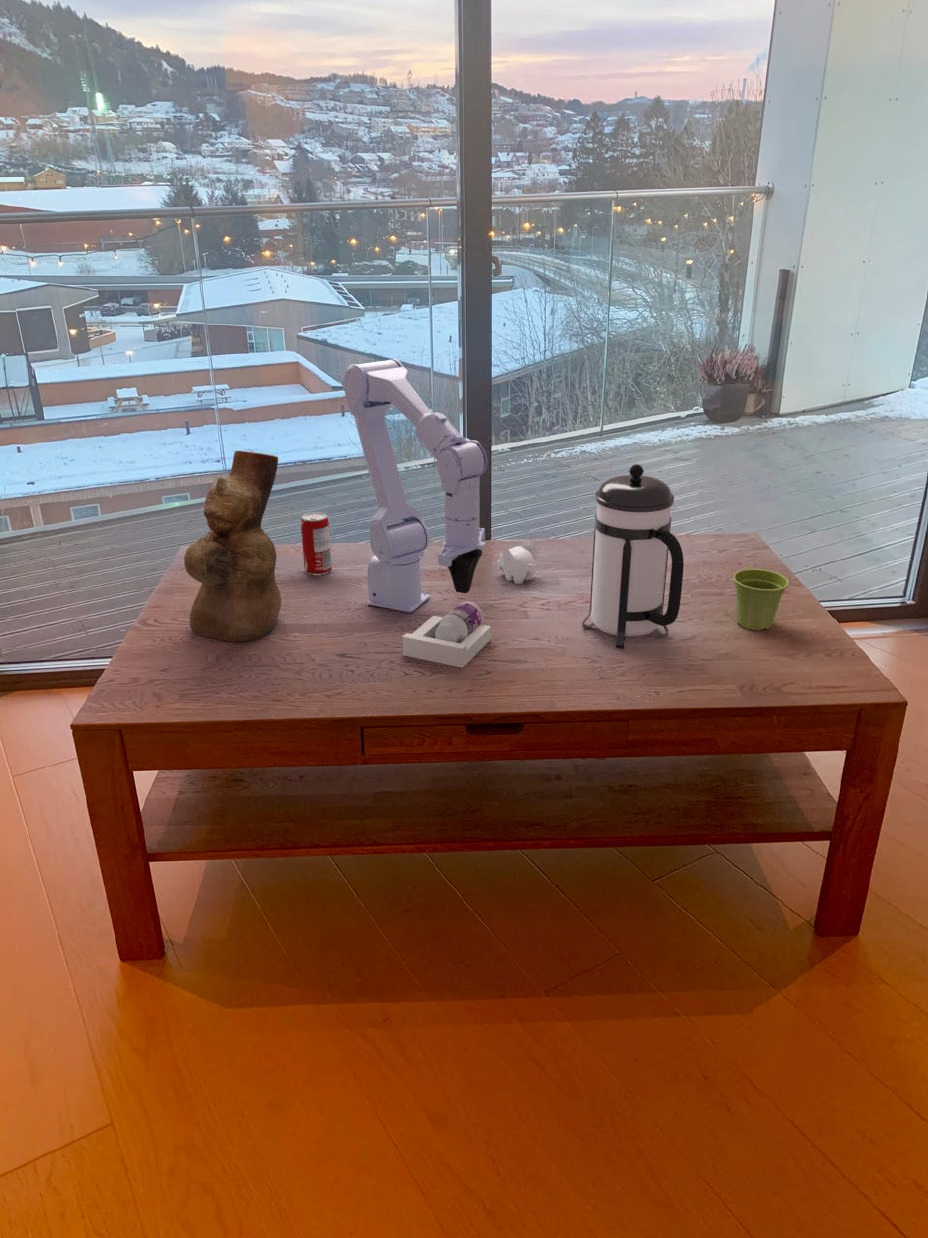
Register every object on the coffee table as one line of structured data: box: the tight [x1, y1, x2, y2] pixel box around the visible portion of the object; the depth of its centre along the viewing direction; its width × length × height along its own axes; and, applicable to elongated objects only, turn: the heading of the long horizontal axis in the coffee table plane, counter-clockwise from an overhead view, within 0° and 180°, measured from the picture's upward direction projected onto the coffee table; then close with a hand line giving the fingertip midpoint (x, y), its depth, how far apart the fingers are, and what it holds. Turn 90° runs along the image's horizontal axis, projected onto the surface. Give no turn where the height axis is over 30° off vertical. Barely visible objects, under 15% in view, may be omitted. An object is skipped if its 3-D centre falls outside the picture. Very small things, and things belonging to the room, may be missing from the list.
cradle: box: [401, 615, 492, 669], centre depth 160 cm, size 11×12×4 cm
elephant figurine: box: [492, 540, 540, 585], centre depth 187 cm, size 8×10×7 cm
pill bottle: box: [435, 601, 484, 643], centre depth 161 cm, size 5×5×10 cm
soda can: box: [300, 511, 333, 576], centre depth 190 cm, size 6×6×12 cm
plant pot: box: [732, 568, 790, 631], centre depth 167 cm, size 9×9×9 cm
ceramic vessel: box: [183, 450, 282, 643], centre depth 165 cm, size 16×22×30 cm
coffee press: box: [582, 464, 685, 650], centre depth 159 cm, size 17×16×30 cm
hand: (462, 591), depth 162 cm, fingers closed
